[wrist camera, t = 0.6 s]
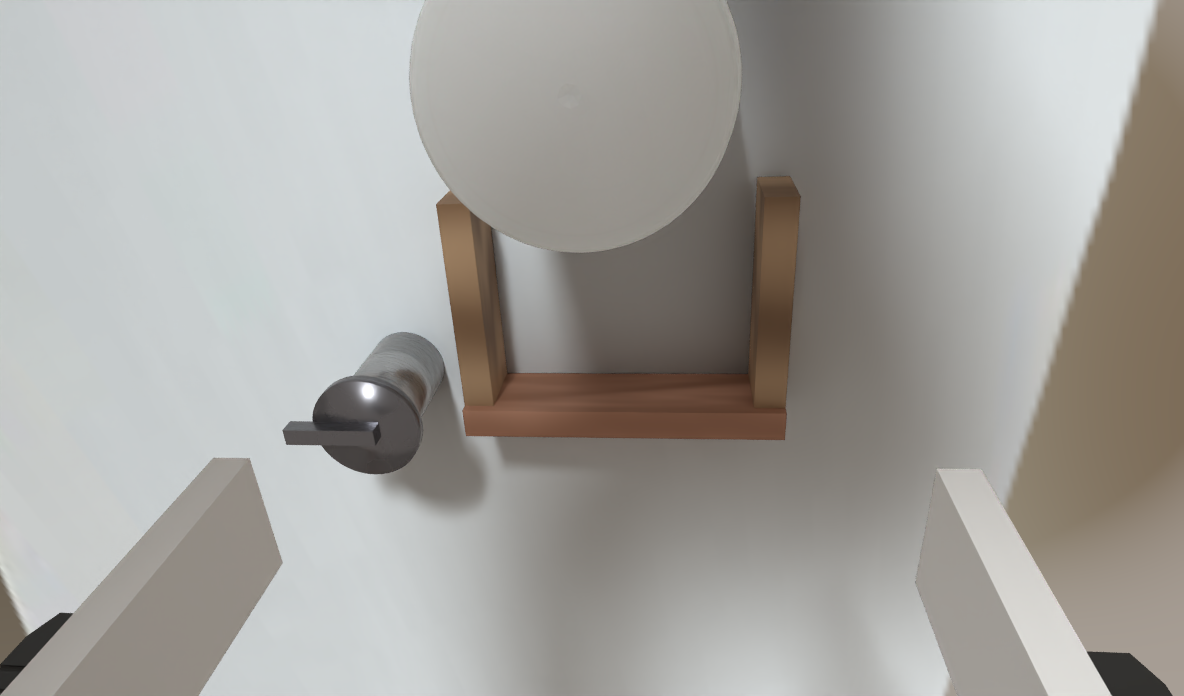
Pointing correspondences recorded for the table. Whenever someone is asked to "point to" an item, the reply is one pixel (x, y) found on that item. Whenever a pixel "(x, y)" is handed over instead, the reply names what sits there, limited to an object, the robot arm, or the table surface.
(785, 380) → the bay
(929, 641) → the table surface
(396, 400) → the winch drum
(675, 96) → the supplement tub
